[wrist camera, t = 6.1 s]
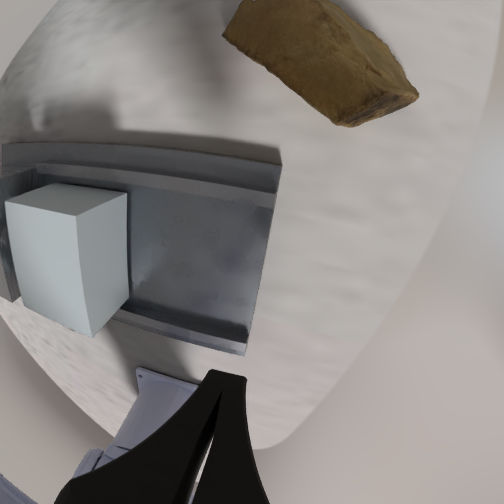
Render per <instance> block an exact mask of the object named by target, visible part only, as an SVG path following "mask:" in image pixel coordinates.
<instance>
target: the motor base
mask: <svg viewBox="0 0 504 504" xmlns="http://www.w3.org/2000/svg"><path fill="white" fill-rule="evenodd" d="M281 170H282V165H279V164H274V163H269V162H263V161H258V160H252V159H246V158H240V157H234V156H227V155H220V154H213V153H206V152H199V151H191V150H182V149H173V148H164V147H153V146H142V145H129V144H113V143H92V142H18V143H7V144H2V166H0V296H1V297H3V298H5V299H7V300H8V301H10V302H12V303H13V302H14V301H15V300H16V299H18V298H19V297H20V296H21V293H20V289H19V285H18V281H17V276H16V272H15V267H14V262H13V257H12V252H11V246H10V240H9V233H8V226H7V218H6V209H5V201H6V200H9V199H11V198H14V197H16V196H19V195H22V194H24V193H27V192H30V191H32V190H35V189H38V188H41V187H44V186H47V185H50V184H53V183H61V184H69V185H76V186H83V187H90V188H97V189H104V190H111V191H117V192H124V193H127V270H128V289H129V298H128V299H127V300H126V301H125V302H124V304H123V305H122V306H121V307H120V308H119V309H118V310H117V311H116V312H115V313H114V315H113V316H112V317H111V318H113V319H115V320H118V321H121V322H124V323H127V324H130V325H133V326H136V327H139V328H142V329H145V330H148V331H151V332H155V333H158V334H161V335H164V336H168V337H171V338H175V339H178V340H181V341H185V342H189V343H192V344H196V345H200V346H203V347H207V348H211V349H215V350H219V351H223V352H227V353H231V354H236V355H240V356H245V352H246V348H247V343H248V339H249V334H250V329H251V324H252V319H253V314H254V309H255V304H256V299H257V294H258V289H259V284H260V279H261V274H262V269H263V264H264V259H265V254H266V249H267V244H268V239H269V233H270V228H271V223H272V218H273V213H274V207H275V202H276V197H277V191H278V186H279V181H280V175H281Z"/></svg>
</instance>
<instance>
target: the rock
mask: <svg viewBox="0 0 504 504" xmlns="http://www.w3.org/2000/svg"><path fill="white" fill-rule="evenodd" d="M222 36H223V37H224V38H225V39H226V40H227V41H228V42H229V43H230V44H232V45H234V46H236V47H237V49H238V50H239V51H241V52H242V53H244V54H245V55H246V56H248V57H249V58H251V59H252V60H253V61H255V62H257V63H258V64H260V65H262V66H265V67H266V69H267V70H268V72H270V73H272V74H274V75H275V76H277V77H278V78H279V79H280V80H281V81H282V82H283V83H284V84H285V85H286V86H288V87H289V88H290V89H291V90H293V91H295V92H296V93H297V94H298V95H299V96H301V97H302V98H303V99H304V100H305V101H306V102H307V103H308V104H309V105H311V106H312V107H313V108H315V109H316V110H317V111H319V112H320V113H321V114H323V115H324V116H326V117H327V118H329V119H330V120H331V122H332V123H334V124H335V125H338V126H339V125H341V126H345V127H355V126H359V125H361V124H362V123H364V122H367V121H370V120H373V119H376V118H379V117H382V116H385V115H387V114H390V113H392V112H394V111H397V110H399V109H401V108H404V107H406V106H408V105H409V104H411V103H413V102H415V101H416V100H417V99H418V98H419V93H418V92H417V90H416V88H415V87H413V86H412V85H411V83H410V82H409V81H408V80H407V78H406V77H405V73H404V71H403V69H402V66H401V65H400V64H399V62H398V61H396V59H395V57H394V56H393V55H392V53H391V52H390V50H389V47H388V46H387V45H386V44H384V43H383V41H382V40H381V39H379V38H378V37H377V36H376V35H375V34H374V33H373V32H371V31H368V30H365V29H364V28H362V27H361V26H360V25H359V24H358V23H356V22H355V21H354V20H352V19H351V18H350V17H349V16H348V15H347V14H346V13H345V12H344V11H343V10H342V9H341V8H340V7H339V6H337V5H336V4H334V3H332V2H330V1H329V0H256V1H252V0H243V1H242V2H241V4H240V5H239V7H238V9H237V11H236V13H235V15H234V17H233V18H232V20H231V22H230V23H229V25H228V26H227V28H226V30H225V31H224V33H223V34H222Z"/></svg>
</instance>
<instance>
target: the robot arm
mask: <svg viewBox="0 0 504 504" xmlns="http://www.w3.org/2000/svg"><path fill="white" fill-rule="evenodd" d="M136 377H137V383H138V389H139V395H138V397H137V399H136V401H135V402H134V404H133V406H132V408H131V409H130V411H129V413H128V415H127V417H126V418H125V420H124V422H123V424H122V426H121V427H120V429H119V431H118V433H117V435H116V436H115V438H114V440H113V442H112V444H109V445H108V446H107V448H106V450H105V452H104V450H103V449H101V448H100V447H97V448H94V449H90V450H89V451H88V452H87V454H86V455H85V456H84V458H83V459H82V461H81V463H80V464H79V466H78V468H77V470H76V471H75V473H74V476H73V477H72V479H71V480H70V481H69V482H68V483H67V484H66V485H65V486H64V488H63V489H62V490H61V491H60V493H59V495H58V497H57V498H56V501H55V502H54V504H270V503H269V501H268V498H267V496H266V493H265V491H264V488H263V486H262V483H261V480H260V477H259V474H258V470H257V467H256V463H255V459H254V456H253V451H252V447H251V442H250V436H249V431H248V423H247V415H246V383H247V379H246V378H245V377H244V376H239V375H235V374H231V373H226V372H222V371H218V370H214V369H211V370H209V371H208V373H207V375H206V376H205V378H204V379H203V381H202V382H201V383H200V385H199V386H198V385H195V384H191V383H188V382H184V381H181V380H178V379H174V378H171V377H168V376H165V375H162V374H159V373H156V372H153V371H150V370H147V369H144V368H141V367H137V369H136ZM213 436H214V437H213ZM212 438H213V441H212ZM211 441H212V445H211V448H210V451H209V454H208V457H207V460H206V463H205V466H204V469H203V472H202V475H201V478H200V481H199V484H198V487H197V489H196V492H195V495H194V493H193V492H192V490H193V487H194V483H195V480H196V478H197V475H198V472H199V469H200V467H201V465H202V462H203V460H204V458H205V455H206V453H207V450H208V448H209V445H210V443H211ZM103 453H104V454H103ZM0 504H38V503H36V502H35V501H33V500H32V499H31V498H30V497H28V496H27V495H26V494H24V493H23V492H21V491H20V490H19V489H18V488H17V487H15V486H14V485H13V484H12V483H11V482H9V481H8V480H7V479H6V478H4V477H3V475H2V474H1V473H0Z"/></svg>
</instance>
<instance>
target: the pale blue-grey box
mask: <svg viewBox="0 0 504 504" xmlns="http://www.w3.org/2000/svg"><path fill="white" fill-rule="evenodd" d="M5 209H6V218H7V226H8V233H9V240H10V246H11V252H12V257H13V262H14V267H15V272H16V276H17V281H18V285H19V289H20V293H21V297H22V300H23V304H24V306H25V307H27V308H29V309H31V310H33V311H35V312H37V313H39V314H41V315H43V316H45V317H47V318H49V319H51V320H53V321H55V322H57V323H59V324H61V325H63V326H66V327H68V328H69V329H71V330H72V331H77V332H79V333H81V334H83V335H86V336H88V337H90V338H93V337H94V336H95V335H96V333H97V332H98V331H99V330H100V329H101V328H102V327H103V326H104V324H105V323H106V322H107V321H108V320H109V319H110V318H111V317H112V316H113V315H114V313H115V312H116V311H117V310H118V309H119V308H120V307H121V306H122V305H123V304H124V302H125V301H126V300H127V299H128V298H129V289H128V270H127V193H124V192H117V191H111V190H104V189H97V188H90V187H83V186H76V185H69V184H61V183H53V184H50V185H47V186H44V187H41V188H38V189H35V190H32V191H30V192H27V193H24V194H22V195H19V196H16V197H14V198H11V199H9V200H6V201H5Z"/></svg>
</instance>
